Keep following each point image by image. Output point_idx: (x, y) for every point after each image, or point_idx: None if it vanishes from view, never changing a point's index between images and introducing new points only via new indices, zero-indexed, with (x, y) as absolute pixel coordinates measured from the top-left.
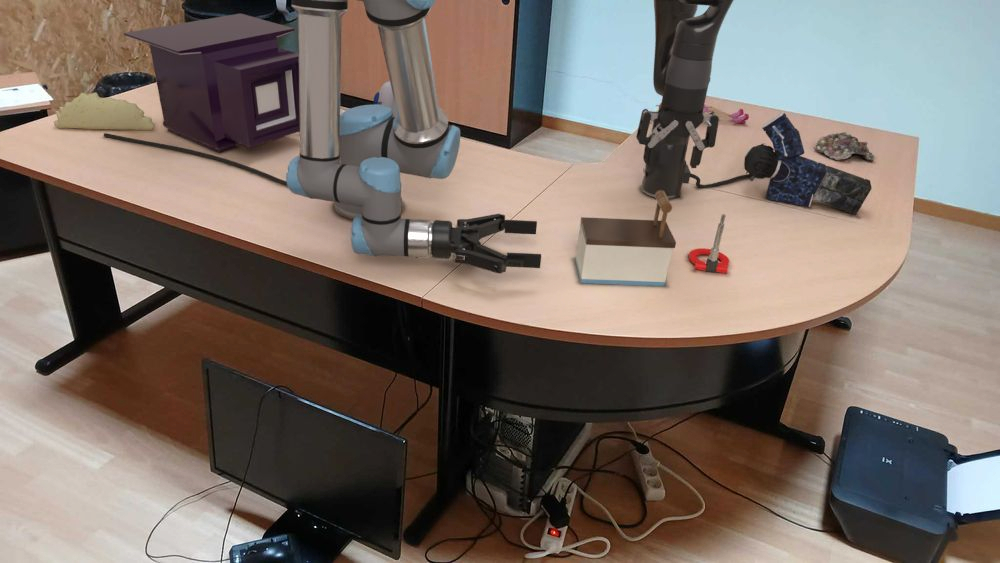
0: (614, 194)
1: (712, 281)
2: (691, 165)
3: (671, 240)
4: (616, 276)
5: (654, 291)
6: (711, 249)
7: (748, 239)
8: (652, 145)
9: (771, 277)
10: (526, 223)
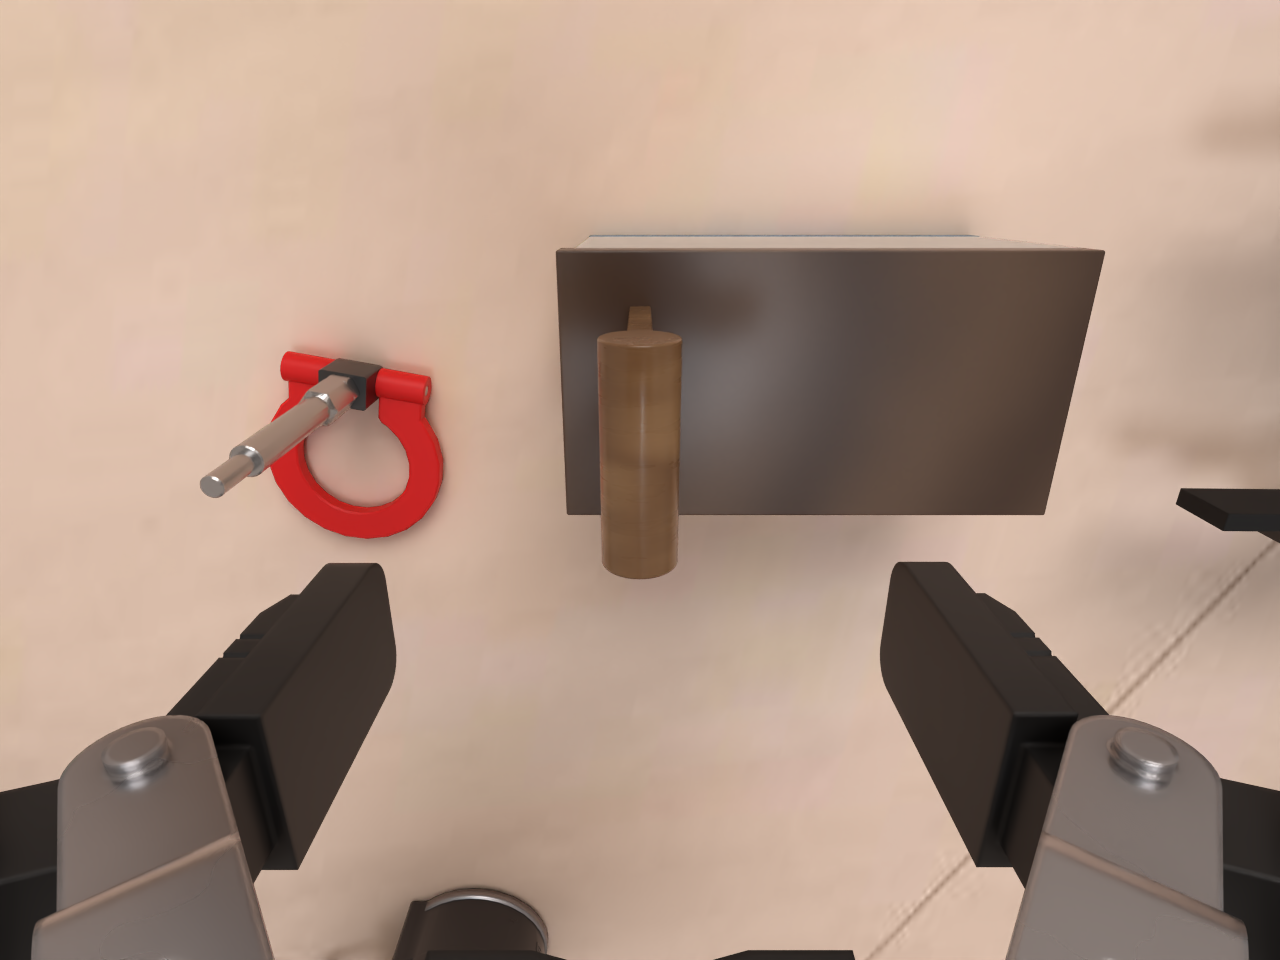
0: (654, 905)
1: (364, 293)
2: (382, 616)
3: (580, 275)
4: (824, 237)
5: (646, 185)
6: (338, 409)
7: (170, 640)
8: (1115, 746)
9: (94, 347)
10: (1277, 511)
